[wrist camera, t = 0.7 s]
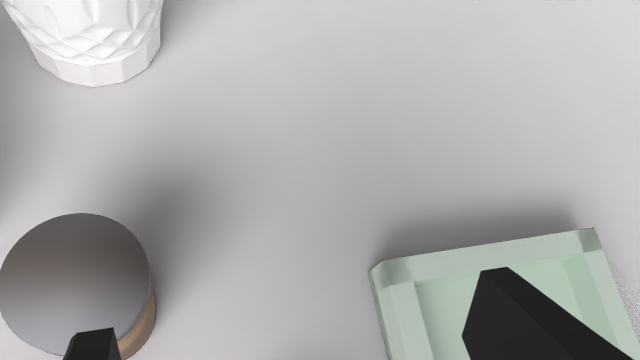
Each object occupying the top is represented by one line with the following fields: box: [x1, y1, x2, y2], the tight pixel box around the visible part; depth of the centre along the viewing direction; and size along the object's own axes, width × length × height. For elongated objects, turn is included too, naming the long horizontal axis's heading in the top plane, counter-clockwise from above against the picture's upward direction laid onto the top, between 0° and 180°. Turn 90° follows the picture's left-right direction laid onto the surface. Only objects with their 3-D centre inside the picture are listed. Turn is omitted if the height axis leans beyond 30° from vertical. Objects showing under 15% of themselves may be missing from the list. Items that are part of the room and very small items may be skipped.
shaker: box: [0, 213, 156, 360], centre depth 21 cm, size 5×5×7 cm
